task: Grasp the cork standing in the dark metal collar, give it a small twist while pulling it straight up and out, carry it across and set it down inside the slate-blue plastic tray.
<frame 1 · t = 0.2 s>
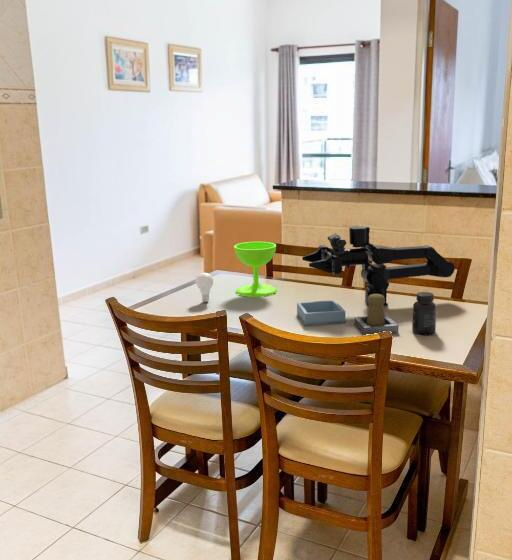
hand: (305, 261, 207), 17 cm above the table, tool horizontal, fingers open, 9 cm apart
lightbulb: (205, 302, 223), on the table
supplement bottle: (423, 332, 185), on the table
plastic tray: (320, 318, 201), on the table
wineglass: (256, 292, 235), on the table
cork: (375, 329, 189), resting in metal collar
metal collar: (375, 328, 189), on the table
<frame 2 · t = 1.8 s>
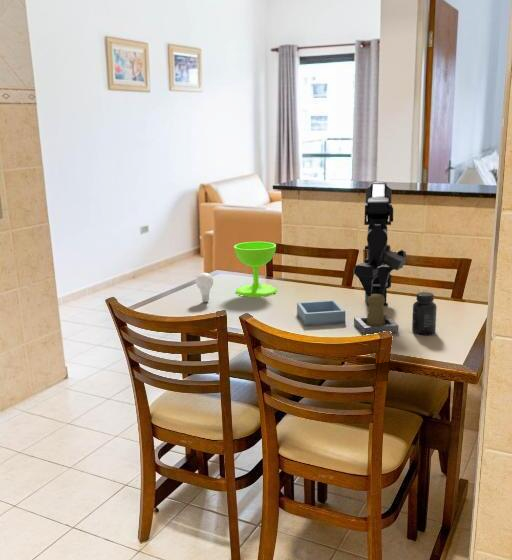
hand: (376, 292, 186), 12 cm above the table, tool pointing down, fingers open, 9 cm apart
nothing on the table moved.
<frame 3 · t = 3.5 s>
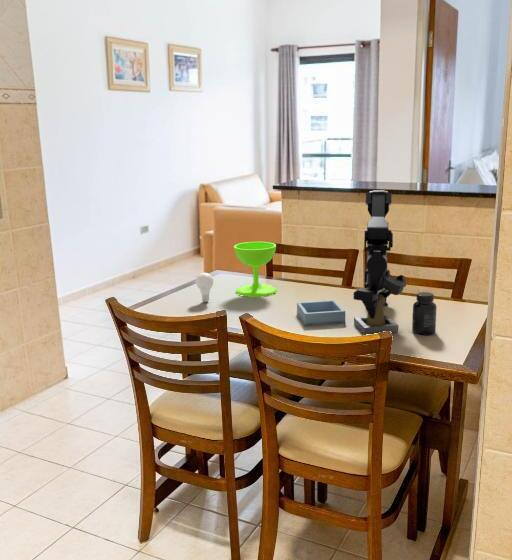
hand: (375, 316, 188), 4 cm above the table, tool pointing down, fingers closed on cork, 4 cm apart
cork: (375, 329, 189), resting in metal collar, touching gripper
everything else where it was.
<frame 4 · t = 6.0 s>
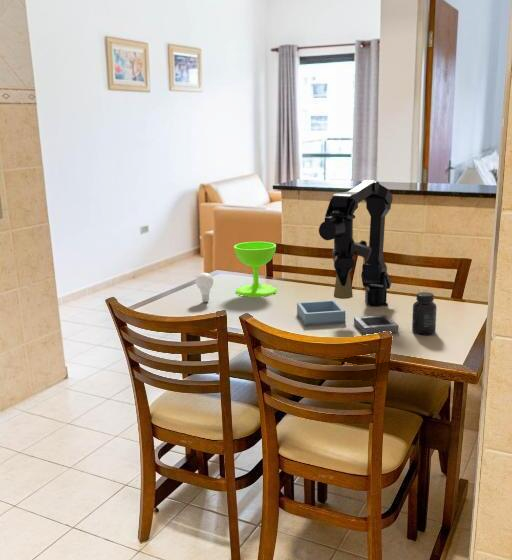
hand: (343, 283, 193), 13 cm above the table, tool pointing down, fingers closed on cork, 4 cm apart
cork: (343, 296, 194), point 9 cm above the table, touching gripper
everything else where it was.
when the fingers open (6 cm above the table, at t = 8.5 s): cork drops 1 cm, resting on plastic tray.
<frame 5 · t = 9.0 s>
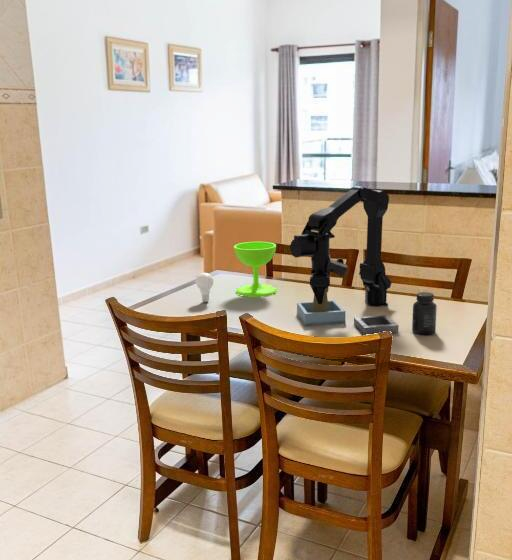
hand: (320, 300, 199), 6 cm above the table, tool pointing down, fingers open, 9 cm apart
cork: (320, 316, 201), point 1 cm above the table, touching plastic tray
everything else where it was.
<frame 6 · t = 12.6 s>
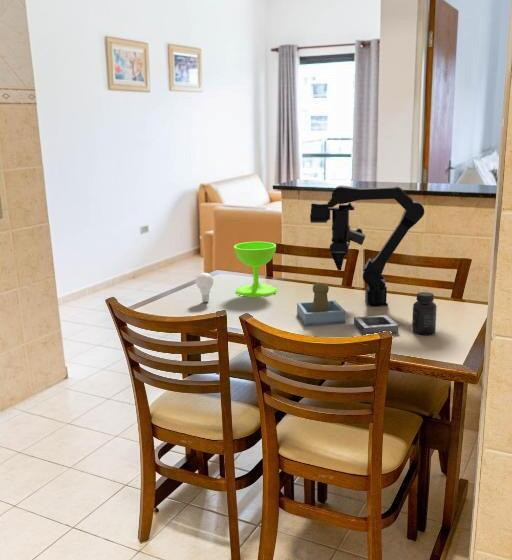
hand: (340, 267, 214), 13 cm above the table, tool pointing down, fingers open, 9 cm apart
nothing on the table moved.
at the end: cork inside the target area on the plastic tray (0.1 cm from its centre), point 0.6 cm above the plastic tray's base; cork tilted 0°; the gripper is holding nothing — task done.
